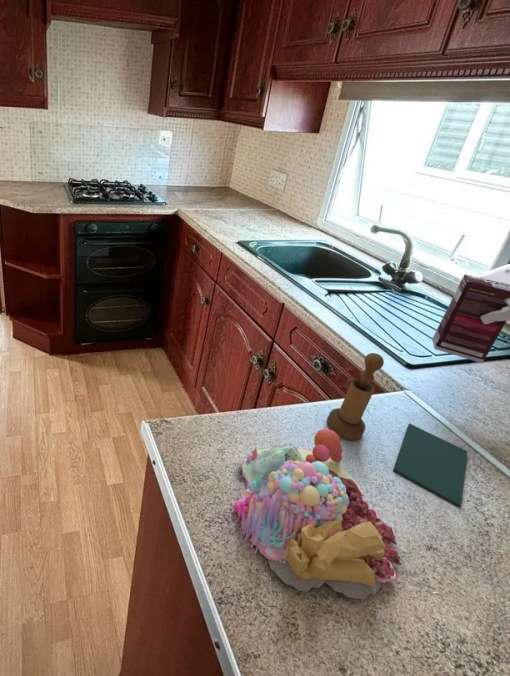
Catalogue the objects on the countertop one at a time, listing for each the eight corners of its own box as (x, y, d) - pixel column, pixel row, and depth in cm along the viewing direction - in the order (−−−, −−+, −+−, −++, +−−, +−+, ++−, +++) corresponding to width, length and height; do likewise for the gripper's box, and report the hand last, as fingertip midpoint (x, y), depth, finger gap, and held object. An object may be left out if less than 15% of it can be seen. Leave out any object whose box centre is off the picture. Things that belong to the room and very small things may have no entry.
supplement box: (477, 353, 85) (517, 285, 78) (482, 364, 81) (524, 294, 74) (430, 339, 88) (463, 273, 81) (432, 349, 85) (468, 280, 77)
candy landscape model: (432, 589, 55) (464, 548, 51) (277, 620, 50) (298, 577, 45) (322, 444, 76) (338, 407, 72) (206, 455, 71) (216, 416, 67)
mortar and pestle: (321, 426, 81) (351, 352, 73) (333, 411, 85) (363, 340, 77) (355, 446, 77) (391, 371, 69) (366, 430, 81) (402, 357, 73)
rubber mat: (408, 424, 84) (409, 423, 83) (466, 452, 78) (467, 451, 78) (392, 470, 72) (393, 469, 72) (459, 507, 67) (460, 505, 67)
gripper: (524, 247, 82) (448, 280, 89) (588, 286, 65) (488, 323, 72) (538, 272, 83) (462, 302, 90) (605, 317, 66) (505, 350, 72)
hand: (474, 312), depth 81 cm, fingers closed on supplement box, 5 cm apart
